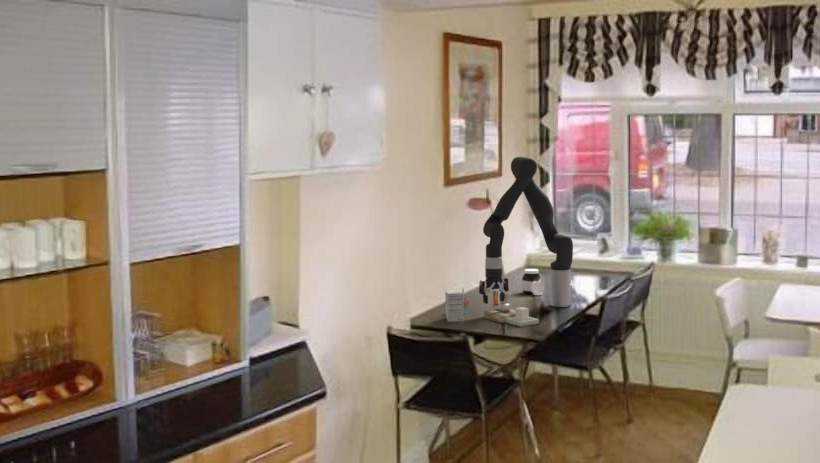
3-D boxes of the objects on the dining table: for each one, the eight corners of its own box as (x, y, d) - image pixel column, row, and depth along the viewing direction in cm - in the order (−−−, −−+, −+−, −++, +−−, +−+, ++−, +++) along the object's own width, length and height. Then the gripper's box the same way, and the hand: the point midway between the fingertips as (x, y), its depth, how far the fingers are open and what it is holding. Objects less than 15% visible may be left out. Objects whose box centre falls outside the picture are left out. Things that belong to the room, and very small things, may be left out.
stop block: (522, 320, 426) (522, 306, 425) (528, 322, 422) (528, 308, 422) (515, 321, 424) (515, 308, 423) (521, 323, 420) (521, 309, 419)
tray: (523, 319, 430) (523, 315, 430) (538, 323, 422) (538, 319, 421) (505, 322, 425) (505, 318, 424) (520, 327, 416) (520, 322, 416)
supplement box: (445, 318, 436) (444, 290, 434) (461, 317, 437) (461, 289, 435) (447, 321, 429) (446, 293, 427) (464, 321, 429) (463, 292, 428)
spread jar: (529, 290, 494) (529, 267, 493) (549, 292, 488) (549, 269, 486) (517, 294, 484) (517, 271, 483) (538, 296, 478) (538, 273, 476)
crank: (512, 311, 431) (512, 295, 430) (502, 312, 430) (502, 296, 429) (499, 305, 443) (499, 290, 442) (489, 306, 441) (489, 291, 440)
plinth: (507, 313, 442) (507, 306, 442) (525, 318, 431) (525, 311, 431) (484, 317, 435) (484, 310, 435) (502, 323, 424) (502, 315, 424)
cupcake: (471, 311, 448) (470, 286, 446) (466, 315, 440) (465, 289, 438) (453, 310, 450) (452, 285, 449) (447, 314, 443) (447, 288, 441)
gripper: (484, 269, 431) (485, 305, 433) (511, 266, 438) (511, 302, 440) (475, 267, 438) (476, 302, 440) (502, 264, 444) (502, 299, 447)
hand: (494, 302), depth 440 cm, fingers open, 8 cm apart
